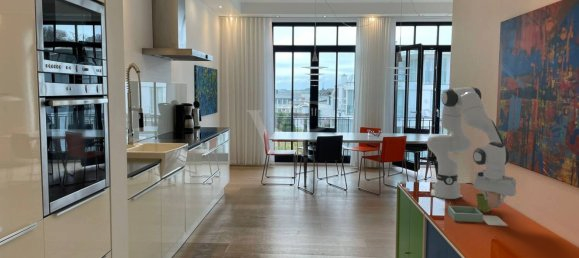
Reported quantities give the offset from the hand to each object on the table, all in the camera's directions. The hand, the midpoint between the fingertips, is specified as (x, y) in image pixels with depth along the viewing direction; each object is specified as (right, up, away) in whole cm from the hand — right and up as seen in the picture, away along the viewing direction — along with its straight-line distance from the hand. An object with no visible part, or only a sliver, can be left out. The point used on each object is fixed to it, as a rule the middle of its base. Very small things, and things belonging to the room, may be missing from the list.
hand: (493, 201), depth 214 cm
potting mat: (0, -10, +1) cm, 10 cm away
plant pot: (+4, -9, +19) cm, 21 cm away
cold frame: (-12, -10, +6) cm, 17 cm away
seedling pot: (0, -3, 0) cm, 3 cm away
